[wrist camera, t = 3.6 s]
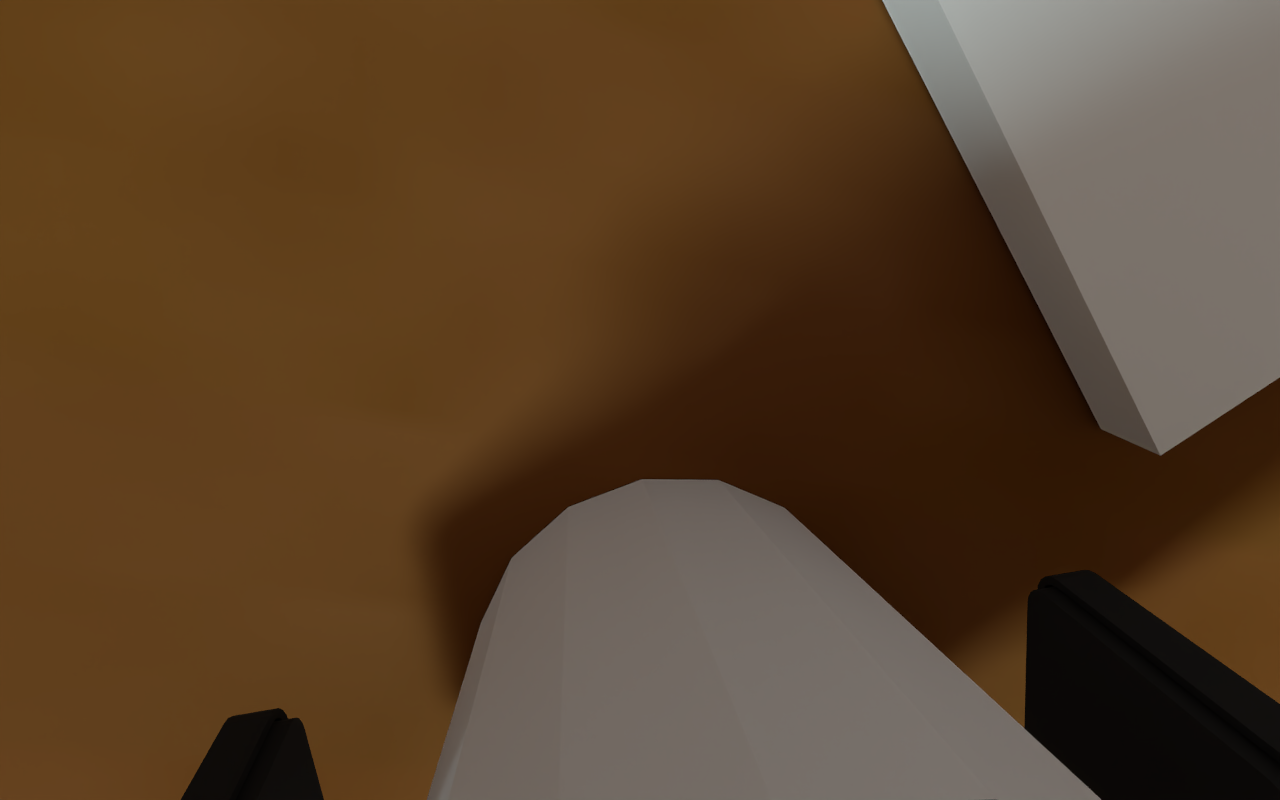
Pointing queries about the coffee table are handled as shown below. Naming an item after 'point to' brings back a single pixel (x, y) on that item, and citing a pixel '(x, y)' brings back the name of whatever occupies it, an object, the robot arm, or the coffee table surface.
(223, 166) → the coffee table surface
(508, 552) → the coffee table surface
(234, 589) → the coffee table surface
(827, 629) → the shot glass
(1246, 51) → the ceramic tile
